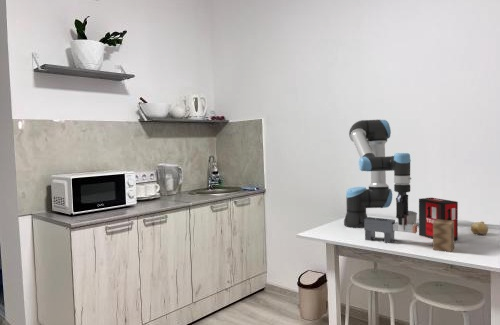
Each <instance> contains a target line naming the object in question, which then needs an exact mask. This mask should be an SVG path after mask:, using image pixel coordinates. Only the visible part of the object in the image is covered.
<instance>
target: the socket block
mask: <svg viewBox="0 0 500 325" xmlns="http://www.w3.org/2000/svg"><path fill="white" fill-rule="evenodd" d="M454 249H455V241H454V221H451V220H441V219H437V220H435V221H434V222H433V239H432V251H438V250H439V252H445V251H446V253H452V252H453V250H454Z"/></svg>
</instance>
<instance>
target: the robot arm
mask: <svg viewBox="0 0 500 325" xmlns="http://www.w3.org/2000/svg"><path fill="white" fill-rule="evenodd" d="M391 133H392V132H391V126H390V123H389V121H387V120H386V119H362V120H358V121H356V122H355V123H354V124H352V125H351V127H350V129H349V132H348V134H349V138H350V141H351V142H353V143H354V146H355V148H356V151H357V153H358V156H359V160H358V166H359V170H360V171H361V172H370V184H369V185H368V188H367V187H365V186H355V187H351V188H348V189H347V190H346V195H345V197H346V199H345V200H346V202H345V203H346V214H345V217H344V220H343V225H344V226H345V227H347V228H356V229H357V228H359V229H360V228H362V229H363V228H364V219H365V218H367V217H368V214H367V209H384V208H389V207H390V206H391V205H392V201H393V191H394V192H396V193H397V196H396V198H395V201H396V213H395V214H396V215H395V218H396V219H397V223H398V231H397V232H401V231H404V218H403V214H407V216H409V214H408V211H409V194H407V193H410V192H411V180H412V177H411V154H410V153H408V152H397V153H396V152H395V153H394V155H389V156H386V146H385V145H386V143H387V142H388V139H390V138H391ZM387 171H388V172H389V171H391V172H393V171H394V172H393V174H394V175H393V183H394V184H393V185H394V186H393V191H392V189H391V188H390V187H389V185H388V184H387V181H386V180H387V179H386V177H387V176H386V175H387V173H386V172H387Z"/></svg>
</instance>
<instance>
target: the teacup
mask: <svg viewBox="0 0 500 325" xmlns="http://www.w3.org/2000/svg"><path fill="white" fill-rule="evenodd" d="M408 214H409V216H407V224H412V225H416V222H417V215H418V213H417V212H416V211H414V210H408Z"/></svg>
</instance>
